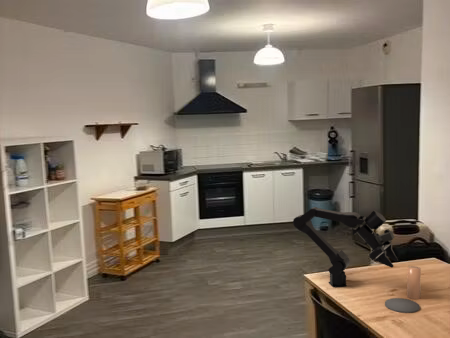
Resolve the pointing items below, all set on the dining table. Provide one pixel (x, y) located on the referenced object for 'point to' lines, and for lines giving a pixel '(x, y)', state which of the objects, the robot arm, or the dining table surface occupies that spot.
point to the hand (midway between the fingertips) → (395, 263)
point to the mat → (402, 305)
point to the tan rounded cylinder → (413, 282)
